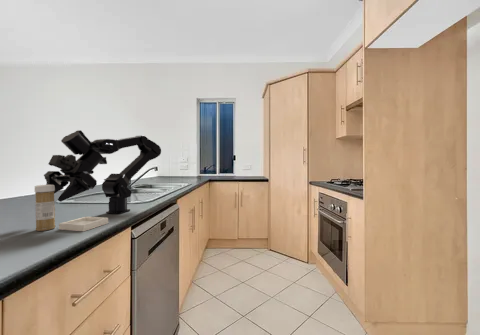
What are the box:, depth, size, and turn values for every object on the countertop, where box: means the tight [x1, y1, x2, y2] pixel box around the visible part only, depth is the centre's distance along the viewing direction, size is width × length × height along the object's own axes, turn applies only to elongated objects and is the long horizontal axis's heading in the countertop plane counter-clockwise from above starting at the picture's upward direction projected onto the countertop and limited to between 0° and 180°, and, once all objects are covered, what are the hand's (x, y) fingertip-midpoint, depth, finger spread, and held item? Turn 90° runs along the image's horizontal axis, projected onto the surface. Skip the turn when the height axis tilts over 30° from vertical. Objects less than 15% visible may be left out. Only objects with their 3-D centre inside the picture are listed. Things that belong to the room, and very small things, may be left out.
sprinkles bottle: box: [34, 184, 56, 232], centre depth 66 cm, size 5×5×14 cm
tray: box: [58, 216, 109, 232], centre depth 70 cm, size 9×9×2 cm
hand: (49, 199), depth 68 cm, fingers open, 9 cm apart
